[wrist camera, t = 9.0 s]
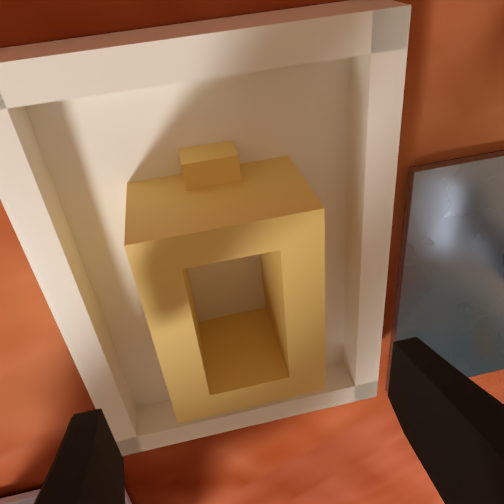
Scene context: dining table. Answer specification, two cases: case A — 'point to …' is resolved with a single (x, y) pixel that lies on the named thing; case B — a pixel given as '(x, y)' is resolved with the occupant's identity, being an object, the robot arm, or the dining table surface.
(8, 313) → the dining table surface
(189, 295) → the yellow hollow rectangular block
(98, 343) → the tray
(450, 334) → the grey peg base
